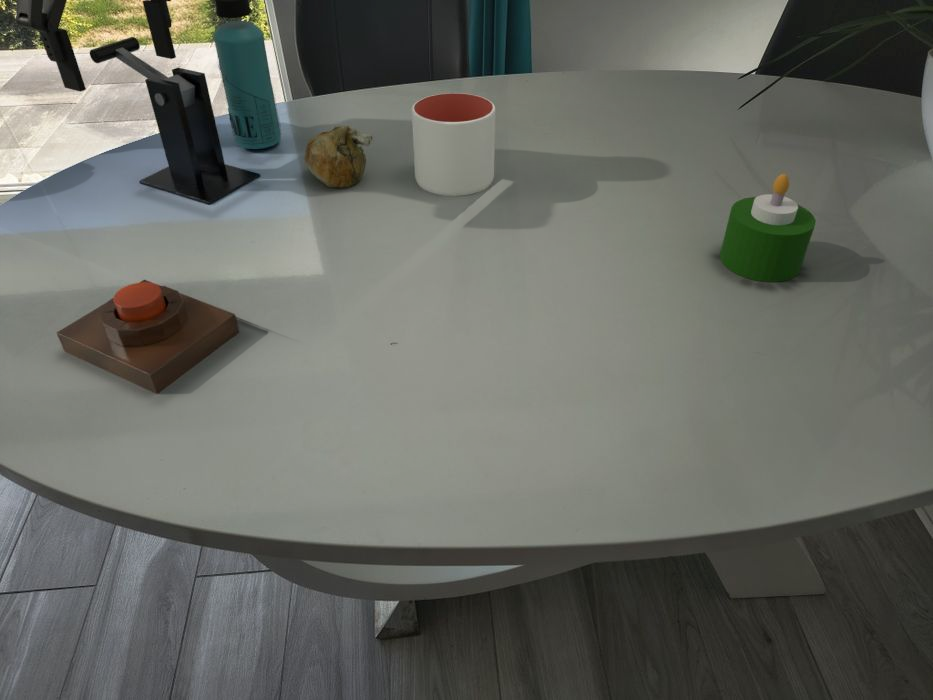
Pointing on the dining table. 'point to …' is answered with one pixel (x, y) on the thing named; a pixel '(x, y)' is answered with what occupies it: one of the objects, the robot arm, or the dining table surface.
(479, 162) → the cup
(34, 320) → the dining table surface
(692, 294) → the dining table surface
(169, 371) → the button block
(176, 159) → the bracket
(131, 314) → the button
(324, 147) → the onion
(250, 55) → the beverage bottle
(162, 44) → the robot arm
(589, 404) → the dining table surface
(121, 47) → the lever
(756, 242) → the candle
